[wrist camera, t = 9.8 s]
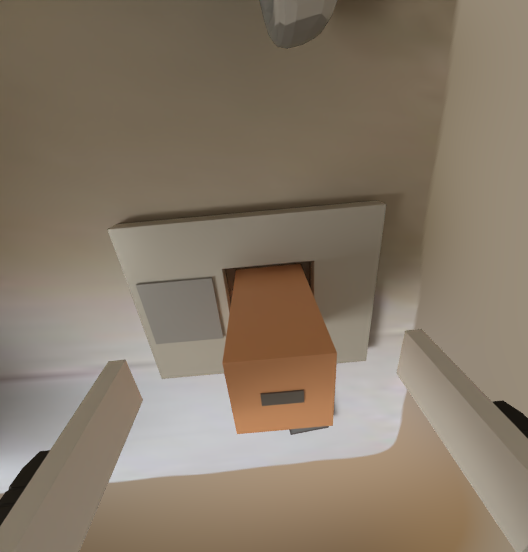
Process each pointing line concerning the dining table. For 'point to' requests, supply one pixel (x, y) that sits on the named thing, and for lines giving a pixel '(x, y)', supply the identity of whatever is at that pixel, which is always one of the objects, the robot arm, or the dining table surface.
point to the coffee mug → (295, 20)
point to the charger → (278, 353)
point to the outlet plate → (243, 253)
